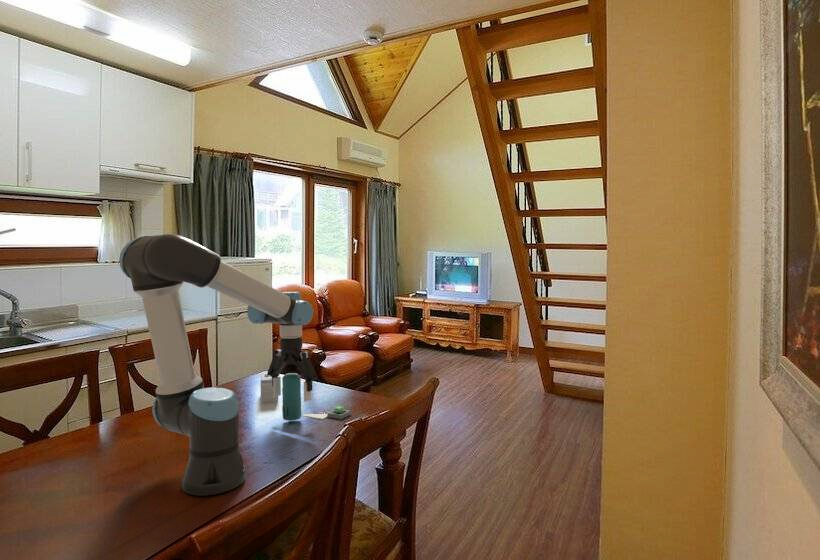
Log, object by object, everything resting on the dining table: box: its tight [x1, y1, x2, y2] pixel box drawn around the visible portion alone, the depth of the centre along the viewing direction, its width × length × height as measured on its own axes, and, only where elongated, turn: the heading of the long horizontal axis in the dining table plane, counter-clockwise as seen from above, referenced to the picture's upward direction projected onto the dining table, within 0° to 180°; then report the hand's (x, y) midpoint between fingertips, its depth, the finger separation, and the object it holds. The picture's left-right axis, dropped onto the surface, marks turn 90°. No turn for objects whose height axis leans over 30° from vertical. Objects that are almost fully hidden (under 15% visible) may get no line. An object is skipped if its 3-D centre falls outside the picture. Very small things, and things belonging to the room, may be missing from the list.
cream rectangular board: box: [302, 413, 328, 420], centre depth 170 cm, size 16×12×1 cm
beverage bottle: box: [281, 364, 303, 422], centre depth 157 cm, size 6×7×20 cm
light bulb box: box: [260, 373, 279, 404], centre depth 180 cm, size 11×7×11 cm, turn 17°
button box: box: [327, 409, 352, 420], centre depth 164 cm, size 6×6×2 cm
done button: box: [333, 405, 345, 413], centre depth 164 cm, size 3×3×2 cm
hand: (292, 398), depth 157 cm, fingers open, 13 cm apart
